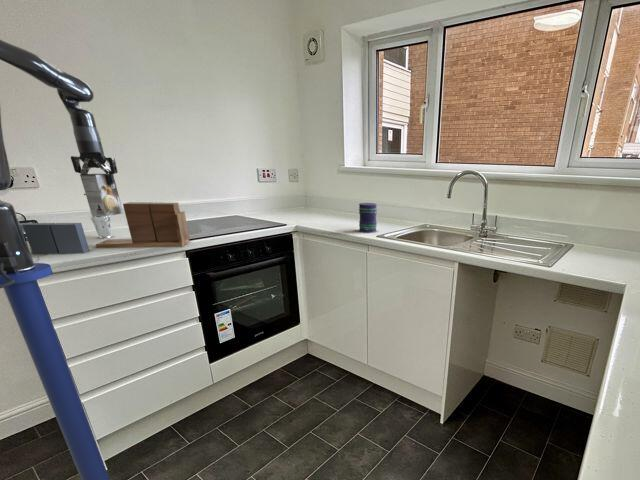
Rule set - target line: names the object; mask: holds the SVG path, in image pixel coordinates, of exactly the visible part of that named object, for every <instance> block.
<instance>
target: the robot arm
mask: <svg viewBox="0 0 640 480" xmlns="http://www.w3.org/2000/svg"><path fill="white" fill-rule="evenodd" d="M0 61H2V62H4V63H6V64H8V65H10V66H12V67H14V68H16V69H18V70H20V71H22V72H24V73H26V74H27V75H29V76H30V77H32V78H34V79H36V80H37V81H39V82H41V83H42V84H44V85H45V86H47V87H50V88H52V89H56V93H57V95H58V97H59V99H60V100H61V102H62V104H63V106H64V108H65V110H66V111H67V113H68V115H69V119H70V121H71V125H72V131H73V136H74V140H75V142H76V143H75V144H76V147H77V150H78V153H79V156H77V155H71V156H70V160H71V163H72V166H73V170H74V172H75V173H78V174H79V175H80V174H89V172H90V170H91V169H95V168H96V169H101V170H102V171H103V172H104V174H107V175H106V176H107V180H108V184H109V185H113V183H114V179H115V178H114V179H113V176H114V175H116V174H118V168H117V163H116V159H115V157H111V156H110V157H106V155H105V152H104V148H103V144H102V139H101V137H100V133H99V130H98V127H97V124H96V120H95V116H94V114H93V112H92V111H90V110H88V109H84V108H83V106H82V105H81V103H90V102H92V101H93V100H94V99H95V98H94V97H95V94H94V91H93V89H92V88H91V86H90V85H89V84H88V83H87V82H86V81H84V80H82V79H81V78H79V77H77V76H75V75H73V74H71V73H68V72H66V71H64V70H62V69H60V68H58V67H57V66H55V65H53V64H52V63H50V62H49V61H47V60H46V59H44V58H43V57H41V56H39V55H38V54H35V53H33V52H31V51H29V50H26V49H24V48H22V47H19V46H16V45H14V44H12V43H10V42H7V41H5V40H2V39H0ZM1 104H2V103H1V102H0V191H6V190H8V189H9V188H10V186H11V184H12V172H11V166H10V162H9V159H8V154H7V150H6V149H7V148H6V144H5V139H4V138H5V137H4V131H3V123H2V122H3V121H2V105H1ZM81 162H82V165H81ZM106 162H107V163H108V165H109V166H108V165H107V164H106ZM27 242H28V241H27V239H26V237H25V235H24V230H23V228H22V226H21V224H20V220H19V217H18V214H17V212H16V209H15V206H14V205H13V204H11V203H10V202H7V201H5V200H1V199H0V274H1V275H2V276H3V277H4V278H5V279H6V280H7V281H9V282H7V283H5V284H1V285H0V289H4V288H3V287H7V286H9V285H11V284H13V283H14V282H15V280H13V279H10V278H9V277H8V276H7V275H6V274H16V273H19V272H25V271H29V270H32V269H34V268H36V266H35V264H34V263H35V261H34V260H33V259H34V258H33V256H32V252H31V251H30V248H29V246H28V243H27Z"/></svg>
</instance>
